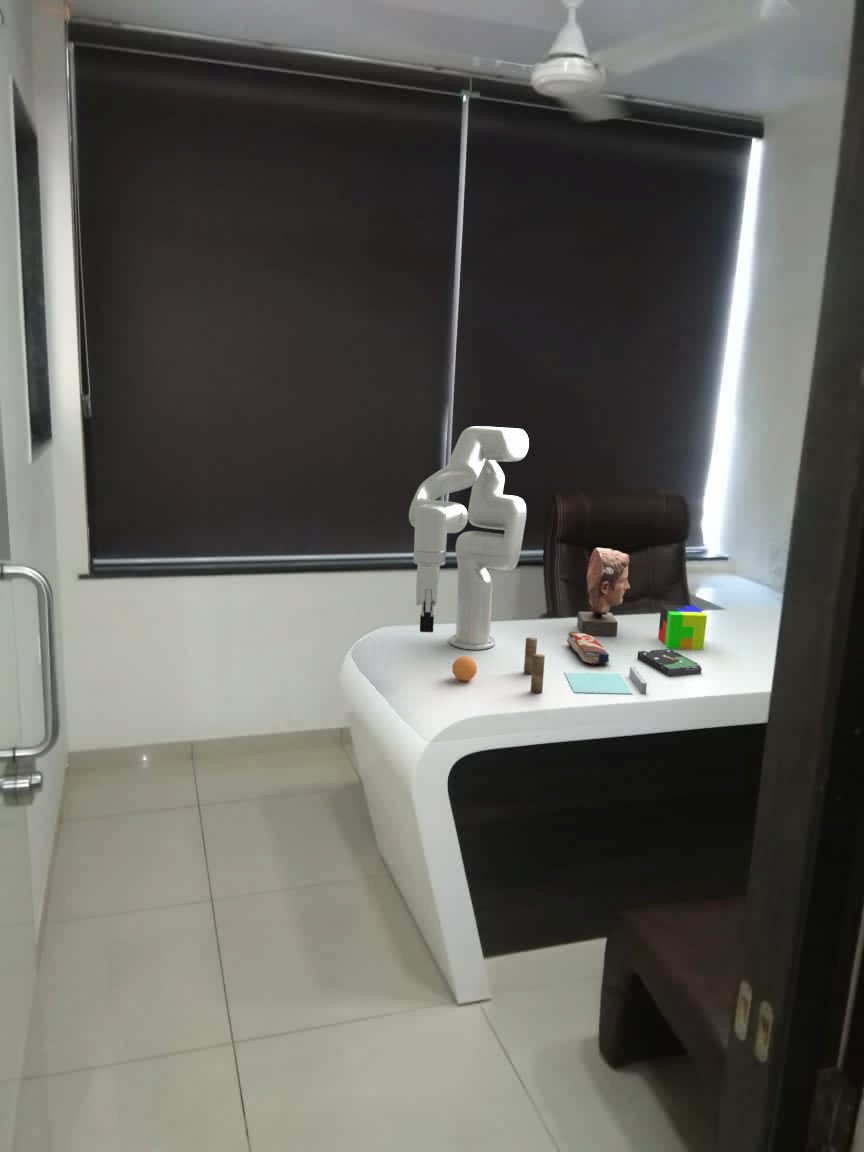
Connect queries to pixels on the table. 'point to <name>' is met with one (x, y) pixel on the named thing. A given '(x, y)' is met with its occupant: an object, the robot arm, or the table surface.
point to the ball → (464, 668)
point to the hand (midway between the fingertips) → (426, 631)
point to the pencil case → (588, 648)
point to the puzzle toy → (682, 627)
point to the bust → (604, 591)
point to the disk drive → (669, 662)
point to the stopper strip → (638, 680)
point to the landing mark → (597, 683)
